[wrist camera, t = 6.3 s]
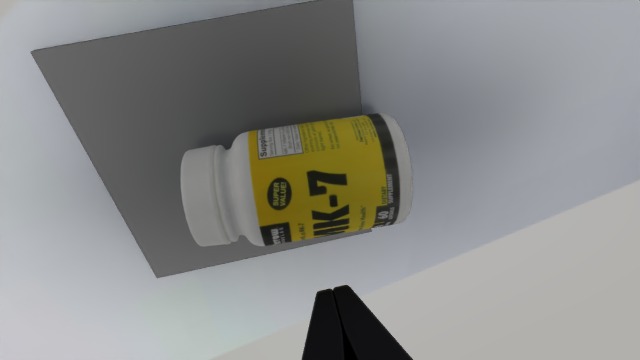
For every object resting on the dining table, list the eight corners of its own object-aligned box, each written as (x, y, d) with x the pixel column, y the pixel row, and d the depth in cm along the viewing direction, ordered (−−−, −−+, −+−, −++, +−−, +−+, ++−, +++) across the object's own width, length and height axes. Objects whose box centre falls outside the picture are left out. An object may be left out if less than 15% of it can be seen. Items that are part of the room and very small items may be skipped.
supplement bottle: (410, 245, 15) (206, 282, 14) (378, 178, 19) (215, 204, 18) (421, 149, 12) (165, 189, 11) (380, 91, 16) (185, 119, 15)
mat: (350, -6, 14) (352, -5, 14) (370, 228, 21) (371, 231, 20) (34, 50, 13) (30, 51, 13) (158, 274, 20) (156, 278, 20)
